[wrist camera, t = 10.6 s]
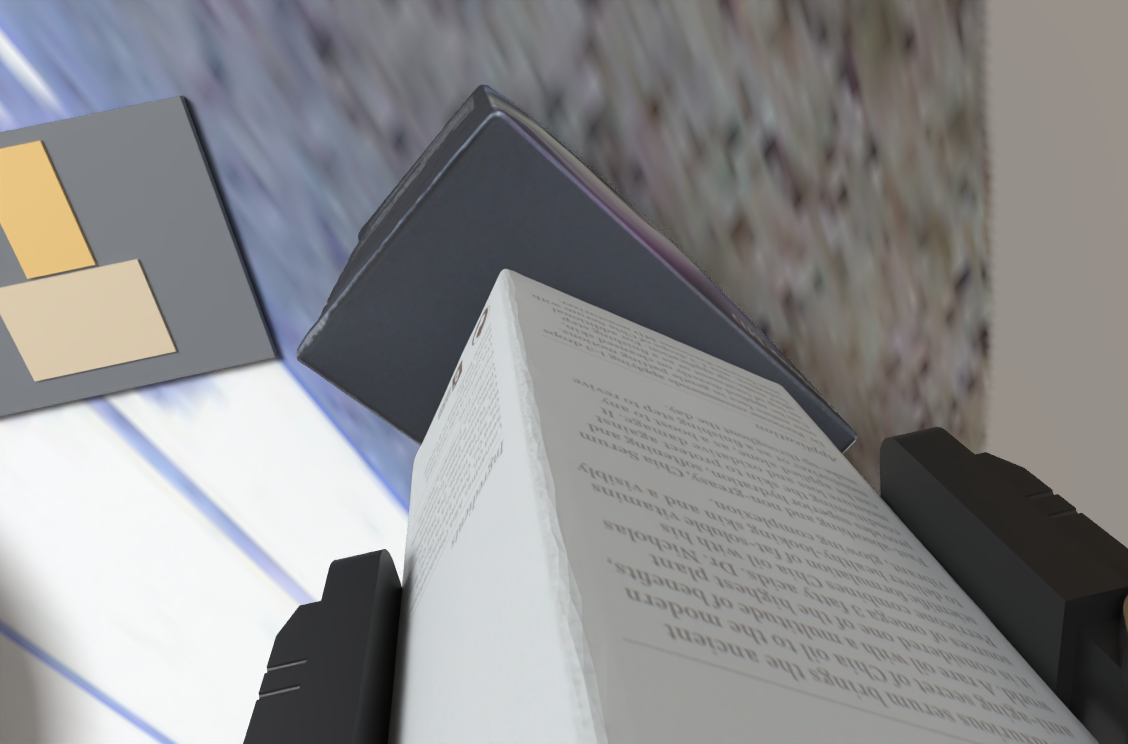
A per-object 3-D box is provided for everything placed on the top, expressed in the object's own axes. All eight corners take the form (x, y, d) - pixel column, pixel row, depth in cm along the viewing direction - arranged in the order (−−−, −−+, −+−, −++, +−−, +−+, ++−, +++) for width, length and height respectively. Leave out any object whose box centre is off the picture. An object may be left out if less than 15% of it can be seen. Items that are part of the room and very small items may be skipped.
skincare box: (408, 463, 15) (246, 1725, 4) (500, 258, 13) (671, 1294, 2) (686, 557, 16) (1139, 1629, 5) (793, 384, 15) (1688, 1340, 4)
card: (-177, 168, 22) (-188, 170, 21) (183, 95, 22) (178, 96, 22) (-35, 420, 25) (-42, 426, 25) (277, 353, 25) (274, 358, 25)
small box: (730, 292, 26) (882, 440, 17) (599, 428, 28) (671, 634, 18) (486, 67, 23) (504, 93, 13) (350, 237, 24) (277, 370, 15)
